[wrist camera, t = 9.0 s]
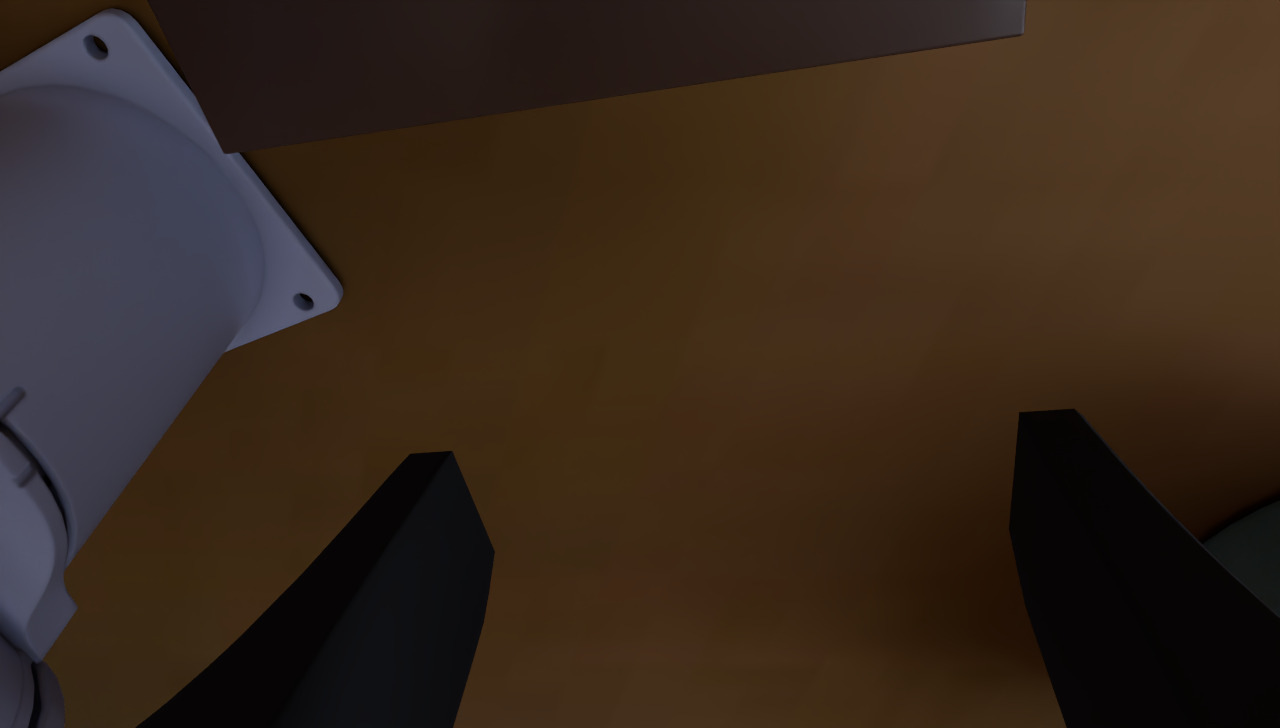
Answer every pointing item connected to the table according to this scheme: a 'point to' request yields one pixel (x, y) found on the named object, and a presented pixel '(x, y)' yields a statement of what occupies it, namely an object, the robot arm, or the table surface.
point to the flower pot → (1253, 552)
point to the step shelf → (516, 53)
